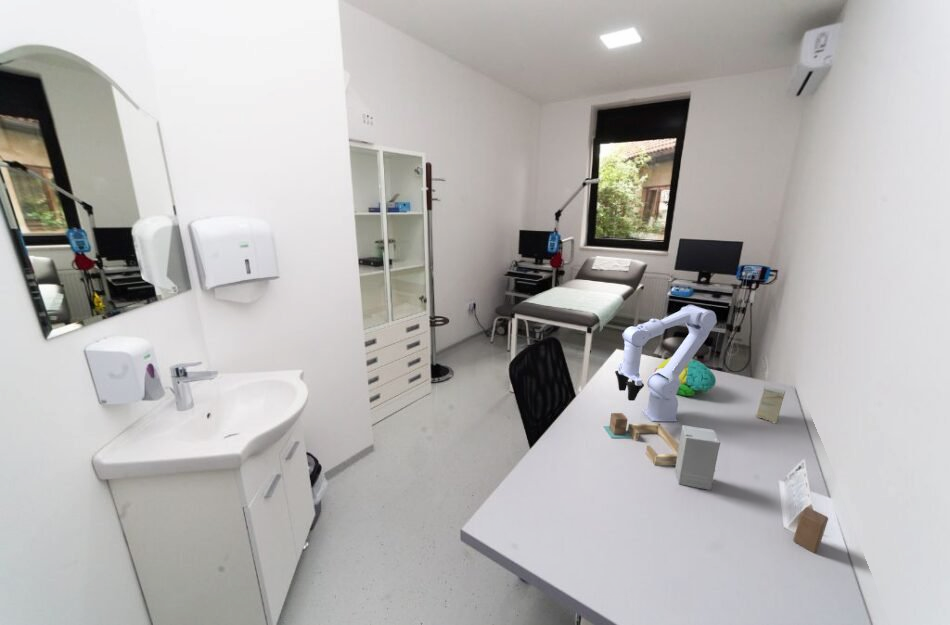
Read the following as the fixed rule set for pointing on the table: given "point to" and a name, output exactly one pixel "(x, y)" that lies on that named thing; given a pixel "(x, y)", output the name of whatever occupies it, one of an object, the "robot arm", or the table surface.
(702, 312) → the robot arm
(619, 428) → the walnut block
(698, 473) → the skincare box
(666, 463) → the open wooden frame
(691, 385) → the brain model
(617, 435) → the mat
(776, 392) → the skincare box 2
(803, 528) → the wooden block
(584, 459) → the table surface
